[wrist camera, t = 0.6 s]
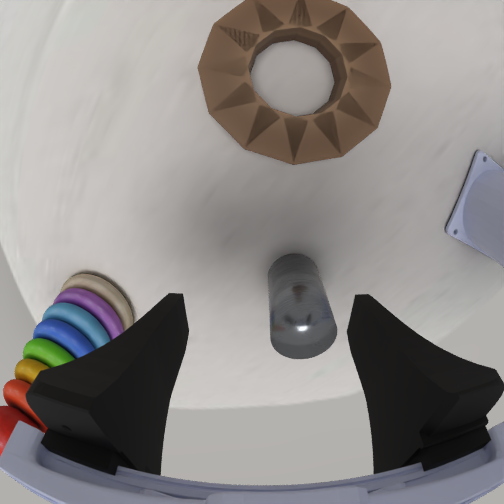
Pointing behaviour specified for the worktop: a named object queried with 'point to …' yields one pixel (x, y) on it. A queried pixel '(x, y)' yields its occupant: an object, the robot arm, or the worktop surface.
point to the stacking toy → (64, 341)
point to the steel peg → (299, 309)
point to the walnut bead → (279, 123)
